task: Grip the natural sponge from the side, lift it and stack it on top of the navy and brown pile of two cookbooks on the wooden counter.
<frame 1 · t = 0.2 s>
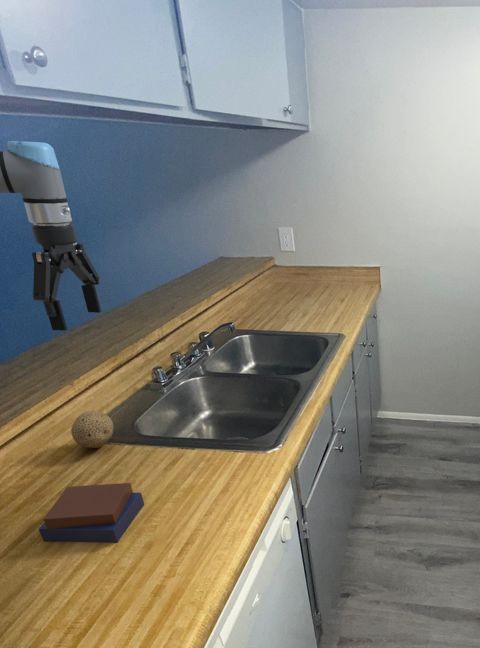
hand: (78, 320, 109), 31 cm above the worktop, tool pointing down, fingers open, 13 cm apart
natural sponge: (98, 448, 118), on the worktop
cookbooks: (96, 521, 96), on the worktop
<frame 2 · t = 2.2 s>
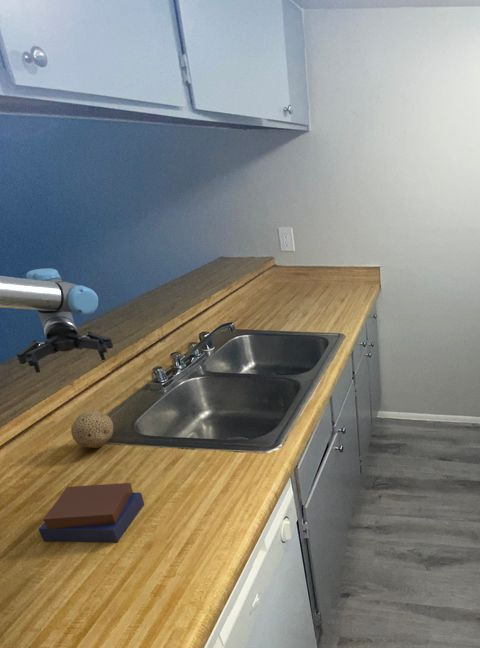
hand: (70, 361, 115), 20 cm above the worktop, tool horizontal, fingers open, 13 cm apart
nothing on the worktop moved.
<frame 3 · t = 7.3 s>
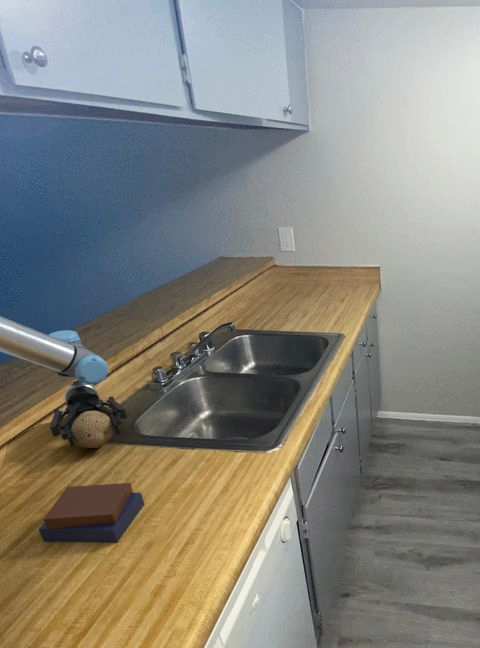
hand: (94, 435, 112), 6 cm above the worktop, tool horizontal, fingers closed on natural sponge, 9 cm apart
natural sponge: (98, 448, 118), on the worktop, touching gripper
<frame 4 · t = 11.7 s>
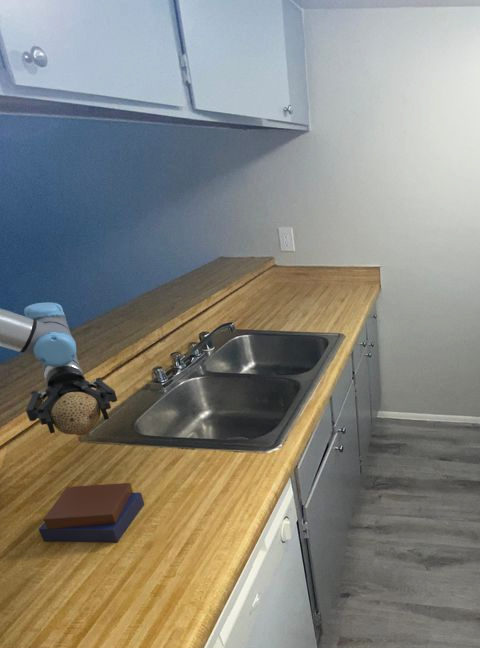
hand: (78, 420, 96), 18 cm above the worktop, tool horizontal, fingers closed on natural sponge, 9 cm apart
natural sponge: (83, 436, 102), point 12 cm above the worktop, touching gripper
when the fingers open (12 cm above the worktop, at t = 16.0 s): natural sponge stays where it is, resting on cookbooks.
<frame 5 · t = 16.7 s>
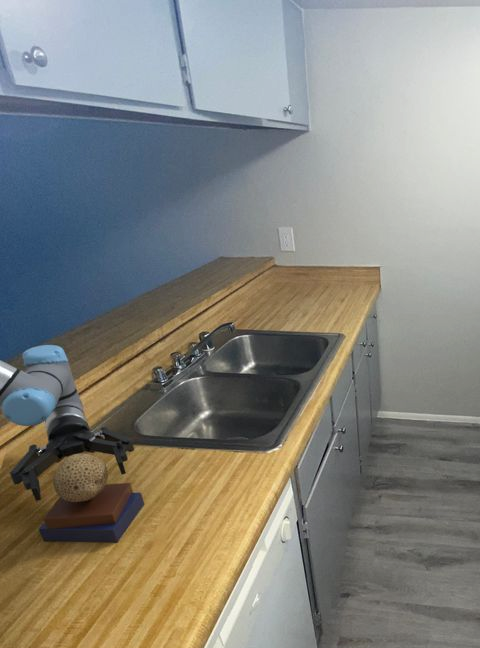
hand: (81, 481, 87), 12 cm above the worktop, tool horizontal, fingers open, 13 cm apart
natural sponge: (88, 500, 93), point 6 cm above the worktop, touching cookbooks
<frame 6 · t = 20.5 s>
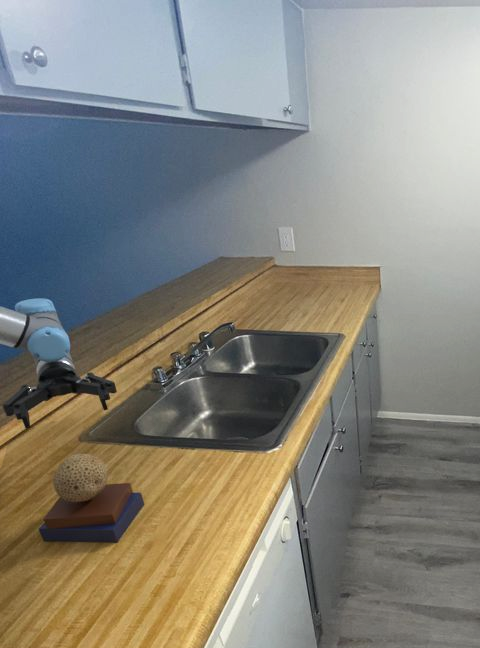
hand: (66, 413, 97), 18 cm above the worktop, tool horizontal, fingers open, 13 cm apart
nothing on the worktop moved.
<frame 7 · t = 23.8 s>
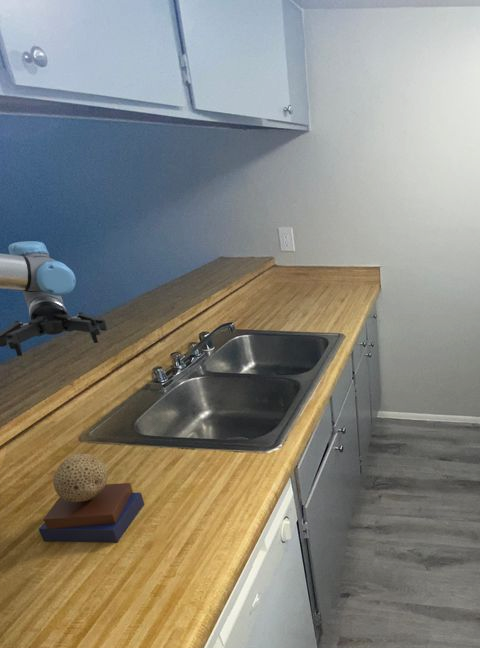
hand: (57, 343, 100), 30 cm above the worktop, tool horizontal, fingers open, 13 cm apart
nothing on the worktop moved.
at the end: natural sponge inside the target area on the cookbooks (0.1 cm from its centre), point 5.5 cm above the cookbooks's base; natural sponge tilted 0°; the gripper is holding nothing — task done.
